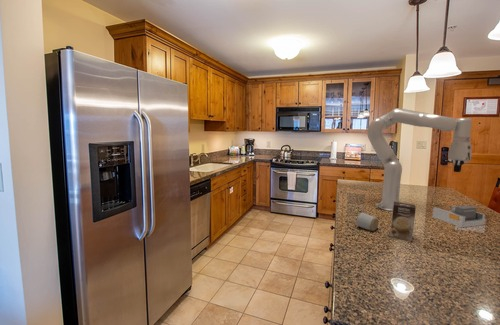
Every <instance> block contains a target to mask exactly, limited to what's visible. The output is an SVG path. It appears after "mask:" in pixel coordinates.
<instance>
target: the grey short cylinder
mask: <svg viewBox="0 0 500 325" xmlns="http://www.w3.org/2000/svg"><path fill="white" fill-rule="evenodd" d="M356 225H357V227H358V228H362V229H365V230H367V231H370V232H374V231H376V230H377V228H378V227H379V219H378V218H377V217H375V216H373V215H371V214H368V213H365V212H360V213H359V214H358V216H357V218H356Z"/></svg>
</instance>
